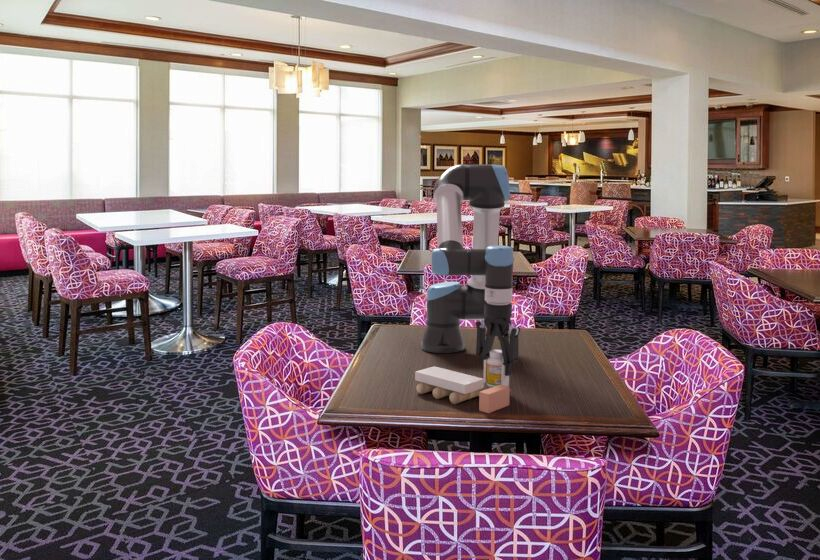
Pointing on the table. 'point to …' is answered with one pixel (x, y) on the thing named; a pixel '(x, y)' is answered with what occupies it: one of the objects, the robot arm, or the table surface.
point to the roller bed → (446, 393)
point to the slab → (449, 379)
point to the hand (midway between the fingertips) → (496, 383)
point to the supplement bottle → (494, 368)
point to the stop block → (494, 398)
